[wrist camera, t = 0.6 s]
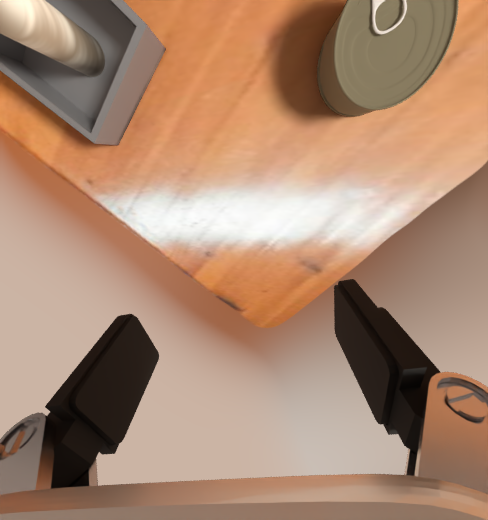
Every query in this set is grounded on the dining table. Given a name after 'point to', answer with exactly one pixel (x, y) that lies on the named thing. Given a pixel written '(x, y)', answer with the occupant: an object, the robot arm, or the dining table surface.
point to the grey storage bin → (85, 87)
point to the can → (383, 52)
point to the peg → (51, 34)
